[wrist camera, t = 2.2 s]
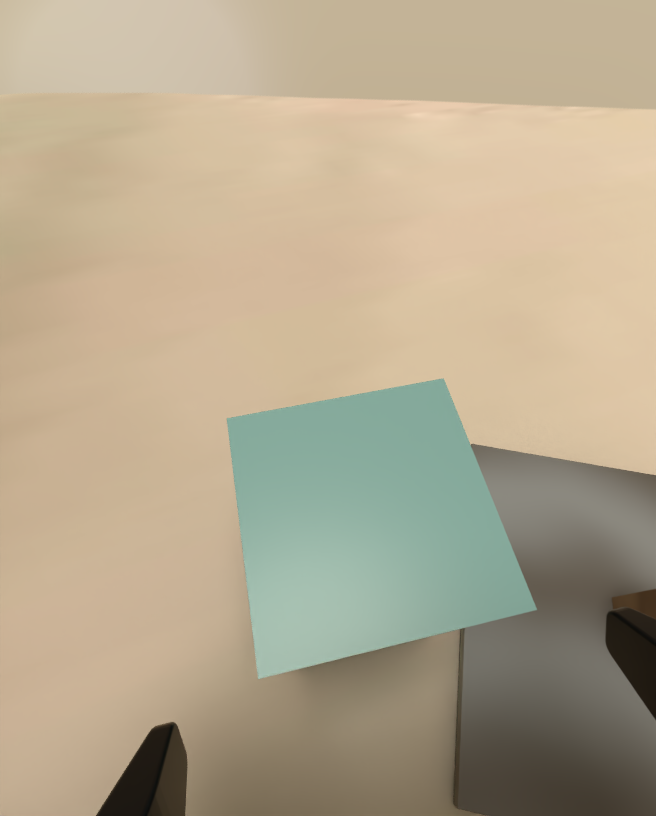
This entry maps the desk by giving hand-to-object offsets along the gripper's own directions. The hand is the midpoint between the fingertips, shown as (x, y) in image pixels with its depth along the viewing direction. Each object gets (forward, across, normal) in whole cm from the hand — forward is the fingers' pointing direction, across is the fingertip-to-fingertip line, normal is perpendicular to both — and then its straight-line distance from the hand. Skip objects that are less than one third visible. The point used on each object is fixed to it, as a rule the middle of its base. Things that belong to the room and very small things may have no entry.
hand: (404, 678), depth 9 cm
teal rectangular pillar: (+10, 0, +5) cm, 11 cm away
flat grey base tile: (+6, -11, +8) cm, 15 cm away
